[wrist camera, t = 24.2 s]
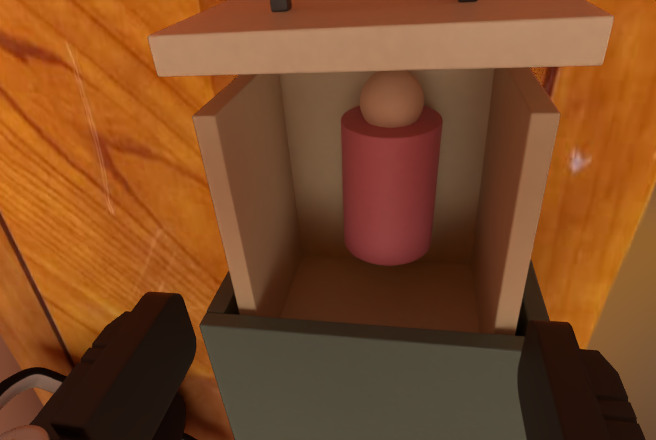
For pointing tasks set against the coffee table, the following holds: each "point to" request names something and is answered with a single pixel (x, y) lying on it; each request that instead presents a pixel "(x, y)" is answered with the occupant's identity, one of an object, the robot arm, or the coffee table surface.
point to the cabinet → (365, 376)
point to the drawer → (326, 150)
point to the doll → (390, 170)
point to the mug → (169, 431)
